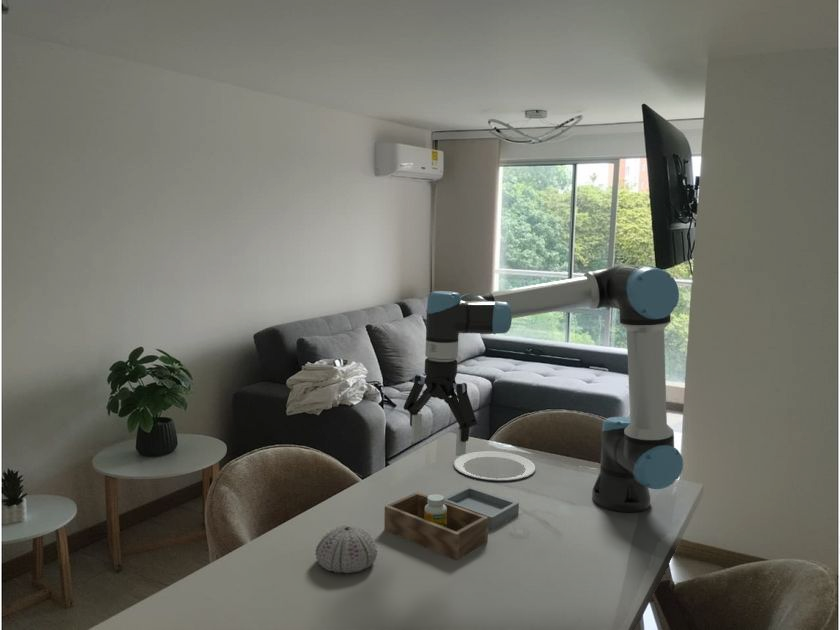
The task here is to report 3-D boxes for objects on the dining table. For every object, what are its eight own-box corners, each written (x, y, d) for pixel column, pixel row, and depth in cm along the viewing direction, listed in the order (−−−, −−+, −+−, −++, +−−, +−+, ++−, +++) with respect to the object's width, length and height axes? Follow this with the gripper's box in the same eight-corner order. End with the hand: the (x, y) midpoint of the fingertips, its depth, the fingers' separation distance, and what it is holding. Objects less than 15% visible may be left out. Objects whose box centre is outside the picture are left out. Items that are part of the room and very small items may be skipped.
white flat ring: (548, 464, 211) (548, 460, 211) (514, 490, 190) (514, 486, 190) (477, 449, 224) (477, 445, 224) (438, 471, 204) (438, 467, 203)
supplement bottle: (438, 528, 165) (438, 491, 163) (451, 537, 160) (451, 498, 159) (419, 534, 162) (420, 495, 160) (432, 543, 157) (433, 503, 156)
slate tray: (518, 513, 174) (518, 502, 173) (491, 529, 165) (492, 517, 164) (468, 496, 184) (468, 486, 184) (440, 510, 175) (441, 499, 175)
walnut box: (487, 541, 158) (488, 517, 158) (456, 560, 149) (456, 534, 149) (416, 514, 173) (417, 491, 172) (384, 529, 164) (384, 506, 163)
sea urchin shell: (304, 559, 149) (304, 525, 148) (357, 543, 157) (357, 510, 156) (335, 585, 138) (335, 548, 137) (389, 566, 146) (390, 531, 145)
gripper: (390, 352, 161) (388, 438, 164) (475, 369, 145) (470, 464, 147) (411, 348, 167) (409, 432, 169) (495, 365, 150) (490, 456, 153)
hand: (437, 447), depth 158 cm, fingers open, 13 cm apart
